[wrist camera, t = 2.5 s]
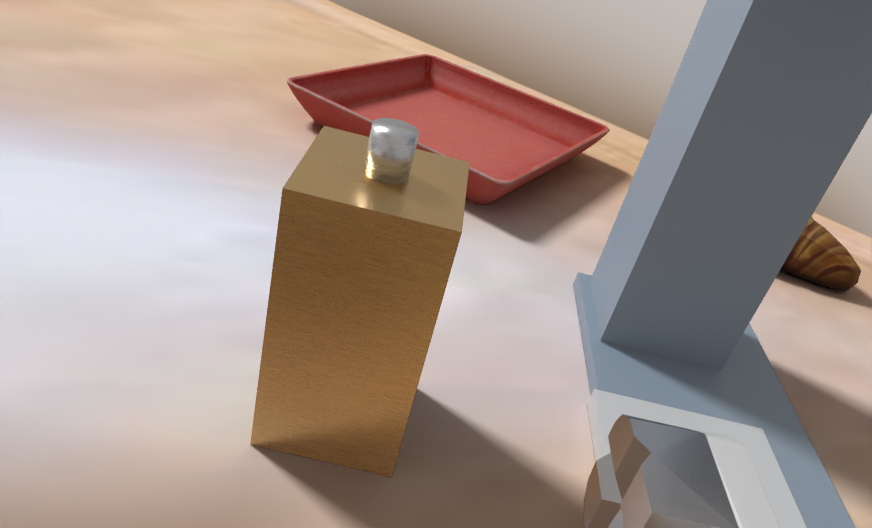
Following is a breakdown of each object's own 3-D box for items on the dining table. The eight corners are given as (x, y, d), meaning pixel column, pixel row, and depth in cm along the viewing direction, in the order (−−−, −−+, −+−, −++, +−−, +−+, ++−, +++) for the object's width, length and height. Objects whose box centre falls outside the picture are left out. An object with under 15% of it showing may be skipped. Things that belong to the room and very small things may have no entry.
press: (907, 669, 22) (2069, -395, 9) (617, 604, 22) (1380, -616, 8) (737, 324, 39) (1058, -235, 25) (568, 283, 38) (804, -309, 25)
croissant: (642, 217, 49) (671, 152, 46) (677, 196, 54) (705, 137, 51) (837, 316, 43) (882, 247, 40) (856, 282, 48) (897, 219, 45)
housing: (391, 476, 24) (475, 183, 18) (250, 444, 24) (288, 137, 18) (408, 382, 28) (480, 120, 22) (288, 354, 28) (330, 82, 22)
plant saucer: (275, 120, 49) (281, 75, 47) (420, 86, 63) (428, 50, 61) (491, 233, 42) (506, 184, 40) (599, 166, 56) (613, 128, 54)
